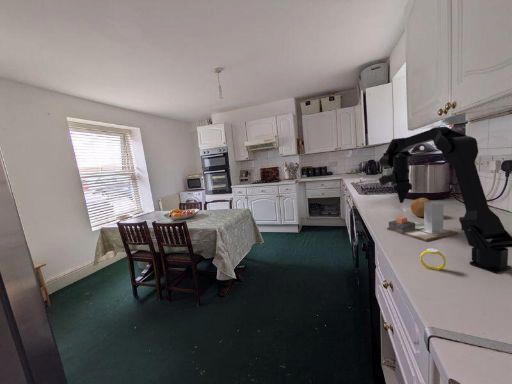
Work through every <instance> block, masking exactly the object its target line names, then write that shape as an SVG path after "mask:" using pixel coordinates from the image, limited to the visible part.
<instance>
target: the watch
mask: <svg viewBox="0 0 512 384" xmlns="http://www.w3.org/2000/svg"><path fill="white" fill-rule="evenodd" d="M426 254H430V255H438V256H440V257H441V258H442V260H443V262H442V264H441V265H440V266H432V265H427V264H426V263H425V262H424V260H423V256H425V255H426ZM419 259H420V263H421V265H422V266H423V267H424V268H426V269H430V270H435V271H440V270H442V269H444V268H445V267H446V264H447V263H446V257H445V256H444V254H443V253H441V252H440V251H439V250H438V249H436V248H431V247H430V248H426V250H424V251H423V252H421V254H420V257H419Z"/></svg>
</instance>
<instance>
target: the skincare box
mask: <svg viewBox="0 0 512 384" xmlns="http://www.w3.org/2000/svg"><path fill="white" fill-rule="evenodd" d="M444 210H445V209H444V204H443V203H440V202H437V201H431V202H424V217H423V219H424V222H423V224H424V229H426V230H427V231H429V232H431V233H443V228H444Z"/></svg>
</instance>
